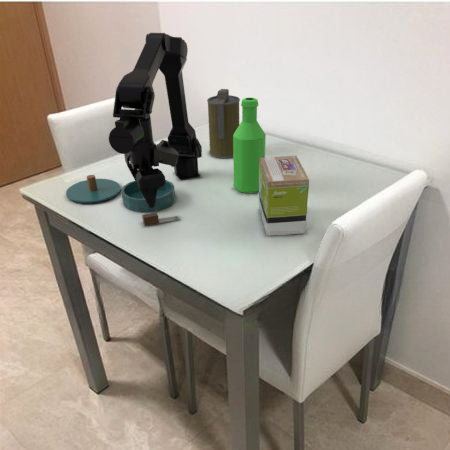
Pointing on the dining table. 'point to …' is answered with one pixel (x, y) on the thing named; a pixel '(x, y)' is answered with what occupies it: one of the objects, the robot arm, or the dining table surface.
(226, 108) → the canister
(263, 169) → the tea box
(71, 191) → the lid
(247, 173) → the bottle
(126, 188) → the pot
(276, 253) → the dining table surface
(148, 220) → the knife
